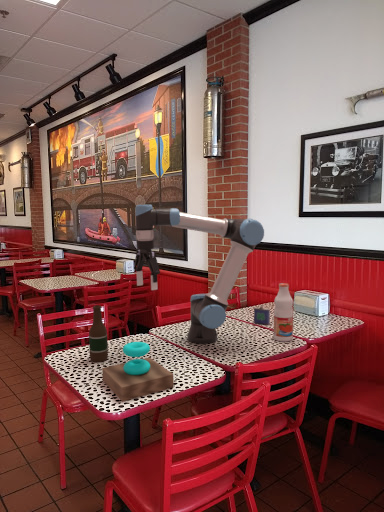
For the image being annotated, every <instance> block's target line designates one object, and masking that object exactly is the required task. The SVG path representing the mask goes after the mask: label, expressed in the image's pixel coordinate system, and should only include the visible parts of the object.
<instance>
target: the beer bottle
mask: <svg viewBox="0 0 384 512" xmlns="http://www.w3.org/2000/svg"><path fill="white" fill-rule="evenodd" d="M92 310H93V315H92V316H93V317H92V318H93V319H92V325H91V327H90V328H89V331H88V346H89V347H88V348H89V360H90V362H92V363H103V362H105V361H107V359H108V357H109V348H108V347H109V346H108V330H107V327H106V326H105V325H104V323H103V318H102V306H101V305H99V304H97V305H93V306H92Z"/></svg>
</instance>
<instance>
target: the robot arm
mask: <svg viewBox="0 0 384 512" xmlns="http://www.w3.org/2000/svg"><path fill="white" fill-rule="evenodd" d="M134 210H135V211H134V213H135V214H134V216H135V235H136V240H137V241H136V250H135V259H134V264H133V269H134V270H135V272H136V286H137V287H138V286H143V285H144V279H143V278H144V277H143V276H144V275H143V267H144V265H145V263H146V264H147V266H148V268H149V271H150V290H151V291H157V290H158V287H159V286H158V275H159V274H161V270H160V267H159V263H158V259H157V254H156V251H152V249H154V248H155V245H154V244H155V241H154V240H153V239H154V227H159V226H160V227H161V226H162V227H163V226H164V227H165V226H166V227H173V228H178V229H185V230H191V231H194V232H195V231H197V232H200V233H201V232H202V233H208V234H212V235H219V236H220V237H221V238H224V239H229V240H230V245H231V246H230V248H229V251H228V252H227V255H226V257H225V260H224V262H223V263H222V266H221V268H220V270H219V272H218V274H217V277H216V279H215V281H214V283H213V286H212V287H211V290H210V292H208V293H198V294H197V293H196V294H192V295H191V296H190V300H189V302H190V326H189V330H188V333H187V341H189V342H190V343H194V344H199V345H200V344H201V345H203V344H205V345H206V344H211V343H215V342H217V341H218V332H217V329H218V328H220V327H221V326H222V325H224V323H225V321H226V319H227V318H226V317H227V313H226V311H227V308H228V306H229V303H228V298H229V296H230V294H231V291H232V290H233V287H234V286H235V283H236V281H237V279H238V277H239V274H240V272H241V271H242V268H243V266H244V265H245V264H244V263H245V261H246V259H247V257H248V255H249V254H250V253H253V252H254V249H255V247H256V246H257V245H258V244H260V243H261V242H262V240H263V239H264V236H265V229H264V226H263V225H262V223H261V222H260V221H258V220H256V219H253V218H227V217H224V218H223V219H222V218H221V219H220V218H215V217H209V216H204V215H198V214H194V213H187V212H183V211H180V210H179V209H178V208H175V207H172V208H171V207H170V208H154V207H153V205H152V204H136V206H135V209H134Z"/></svg>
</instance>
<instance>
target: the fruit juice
mask: <svg viewBox="0 0 384 512" xmlns="http://www.w3.org/2000/svg"><path fill="white" fill-rule="evenodd" d="M289 288H290V284H289V283H284V282H281V283H279V284H278V292H277V295H276V296H275V298H274V301H273V302H274V310H273V339H274V340H275V341H278V342H291V341H292V340H293V338H294V311H293V305H294V300H293V298H292V295H291V293H290V291H289Z"/></svg>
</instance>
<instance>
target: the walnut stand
mask: <svg viewBox="0 0 384 512" xmlns="http://www.w3.org/2000/svg"><path fill="white" fill-rule="evenodd" d="M143 359H144V360H146V361H148V362H149V363H150V370H149V371H148V372H146V373H144V374H141V375H130V374H127V373H126V372H125V371H124V369H123V367H124V364H125V363H126V362H122V363H117V364H113V365H108V366H106V367H102V368H101V371H102V372H101V374H102V377H101V379H102V382H104V384H105V385H106V386H107V387H108V388H109V389H110V390H111V391H112V392H113V394H115V395H116V396H117V398H119V400H120V401H121V402H126V401H130V400H132V399H136V398H137V399H138V398H141V397H143V396H147V395H151V394H154V393H158V392H161V391H165V390H170V389H172V388H174V379H175V378H174V373H172V372H171V371H170V370H168V369H167V368H166V367H164V366H163V365H161V364H160V363H158V361H156V360H154V359H153V358H151V357H145V358H143Z"/></svg>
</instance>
